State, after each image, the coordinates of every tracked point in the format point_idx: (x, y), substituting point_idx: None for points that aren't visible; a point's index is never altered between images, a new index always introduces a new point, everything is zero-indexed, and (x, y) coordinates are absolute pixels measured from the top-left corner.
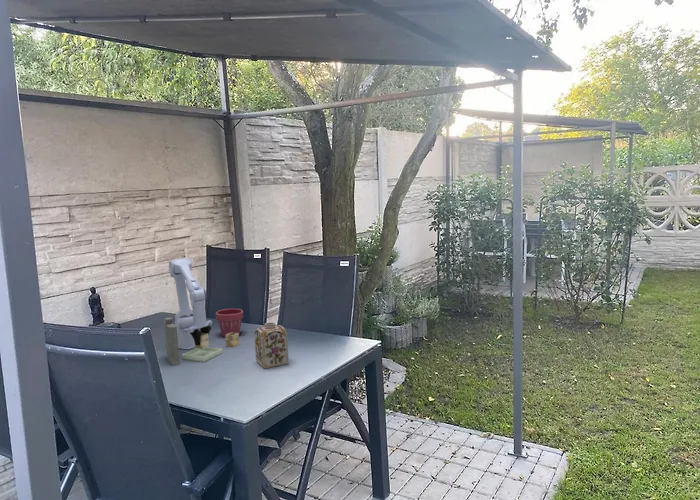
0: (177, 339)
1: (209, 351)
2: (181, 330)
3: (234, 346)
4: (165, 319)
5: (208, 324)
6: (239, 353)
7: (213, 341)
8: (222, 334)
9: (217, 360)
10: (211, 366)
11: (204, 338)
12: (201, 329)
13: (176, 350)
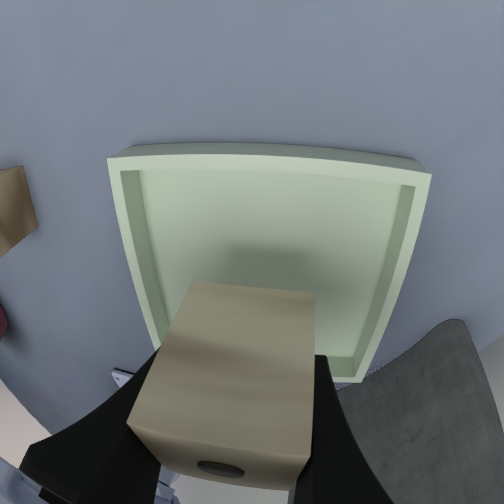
0: (494, 482)
1: (166, 270)
2: (172, 493)
3: (15, 167)
4: None
5: (35, 493)
6: (91, 8)
7: (50, 332)
8: (3, 326)
9: (336, 54)
10: (486, 43)
11: (246, 395)
12: (146, 501)
13: (493, 402)
